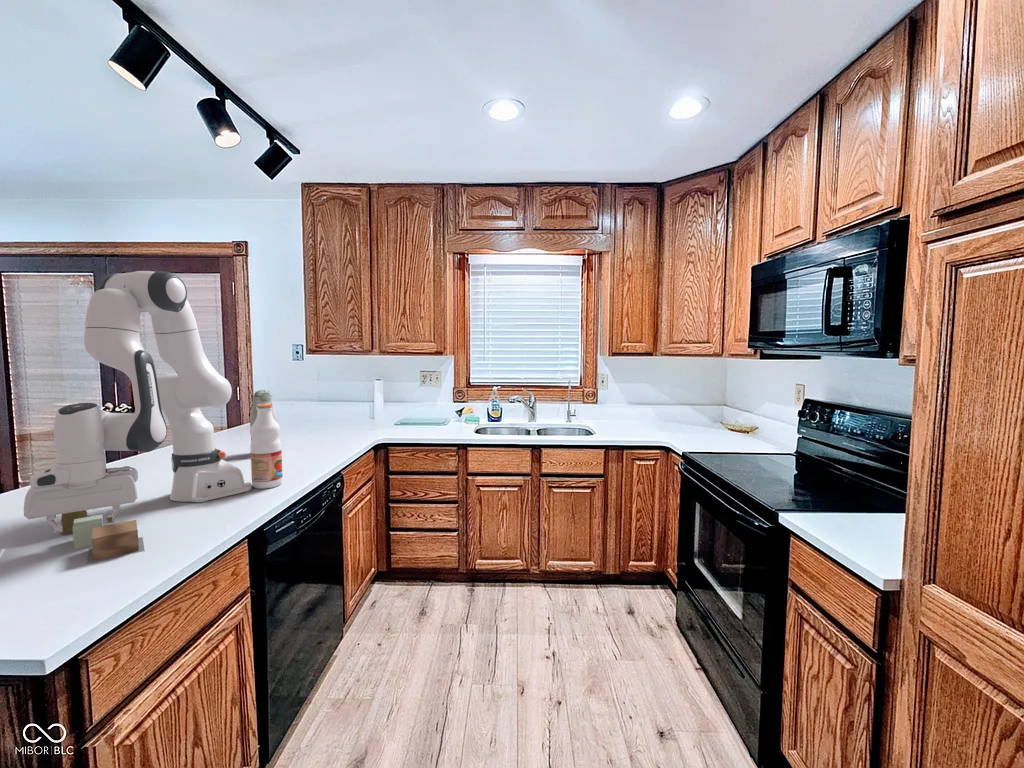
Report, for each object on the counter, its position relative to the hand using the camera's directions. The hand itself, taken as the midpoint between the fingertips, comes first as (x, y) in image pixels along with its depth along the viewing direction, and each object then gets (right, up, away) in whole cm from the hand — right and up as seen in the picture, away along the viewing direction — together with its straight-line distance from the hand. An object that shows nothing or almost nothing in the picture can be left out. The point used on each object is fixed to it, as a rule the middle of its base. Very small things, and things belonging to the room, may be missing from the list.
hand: (85, 527), depth 114 cm
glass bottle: (-4, +4, +91) cm, 91 cm away
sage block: (0, -4, +1) cm, 5 cm away
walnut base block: (+11, -4, -4) cm, 12 cm away
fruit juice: (+19, 0, +48) cm, 52 cm away
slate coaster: (+11, -5, -4) cm, 12 cm away
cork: (-9, -4, +7) cm, 12 cm away
